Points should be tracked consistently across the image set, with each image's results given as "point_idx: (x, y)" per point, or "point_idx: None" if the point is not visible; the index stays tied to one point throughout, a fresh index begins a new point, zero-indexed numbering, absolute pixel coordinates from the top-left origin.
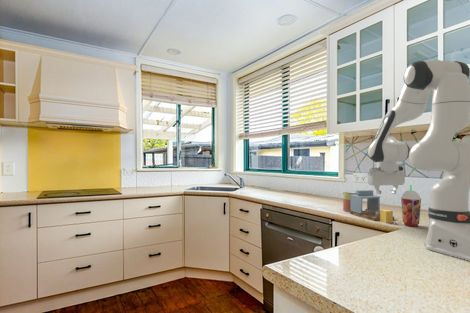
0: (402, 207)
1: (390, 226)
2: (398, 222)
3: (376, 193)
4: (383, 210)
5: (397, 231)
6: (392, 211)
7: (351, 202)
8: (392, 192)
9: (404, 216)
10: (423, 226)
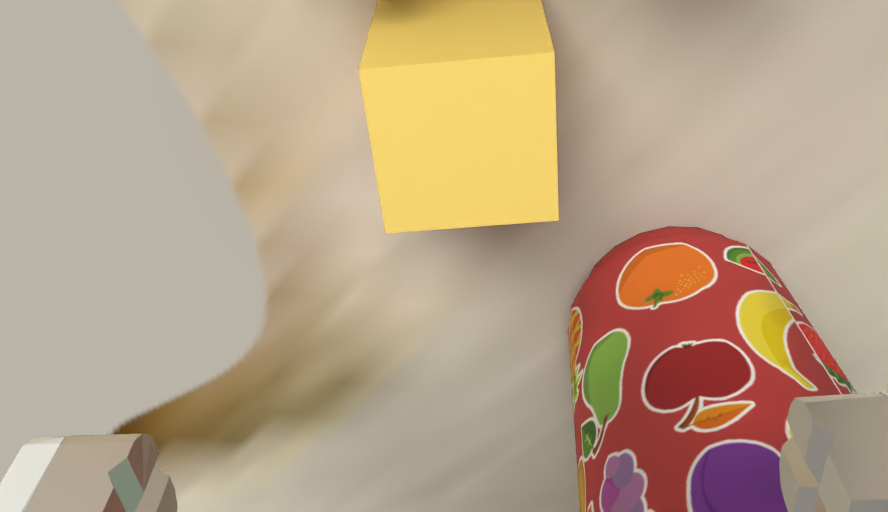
0: (596, 474)
1: (316, 306)
2: (656, 112)
3: (32, 441)
4: (390, 144)
5: (247, 478)
6: (554, 214)
7: None
8: (806, 463)
9: (573, 389)
10: None
